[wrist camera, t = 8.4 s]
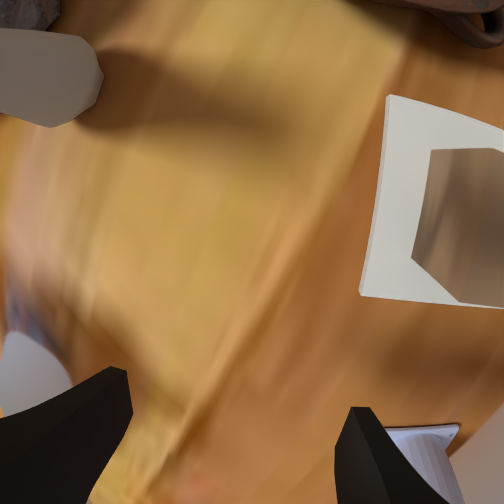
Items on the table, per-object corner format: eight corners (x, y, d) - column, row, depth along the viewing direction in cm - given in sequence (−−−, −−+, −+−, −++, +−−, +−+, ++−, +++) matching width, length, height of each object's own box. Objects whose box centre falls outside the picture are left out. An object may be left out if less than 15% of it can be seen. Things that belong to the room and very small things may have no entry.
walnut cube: (489, 272, 16) (546, 312, 10) (410, 257, 16) (458, 302, 10) (510, 176, 14) (576, 188, 8) (430, 149, 14) (492, 148, 9)
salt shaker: (96, 29, 15) (-55, -35, 3) (130, 87, 16) (-56, 33, 4) (38, 87, 17) (-114, 73, 4) (66, 146, 18) (-111, 163, 5)
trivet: (499, 304, 17) (505, 309, 16) (358, 290, 18) (361, 295, 17) (530, 145, 14) (537, 145, 13) (386, 97, 15) (390, 94, 14)
